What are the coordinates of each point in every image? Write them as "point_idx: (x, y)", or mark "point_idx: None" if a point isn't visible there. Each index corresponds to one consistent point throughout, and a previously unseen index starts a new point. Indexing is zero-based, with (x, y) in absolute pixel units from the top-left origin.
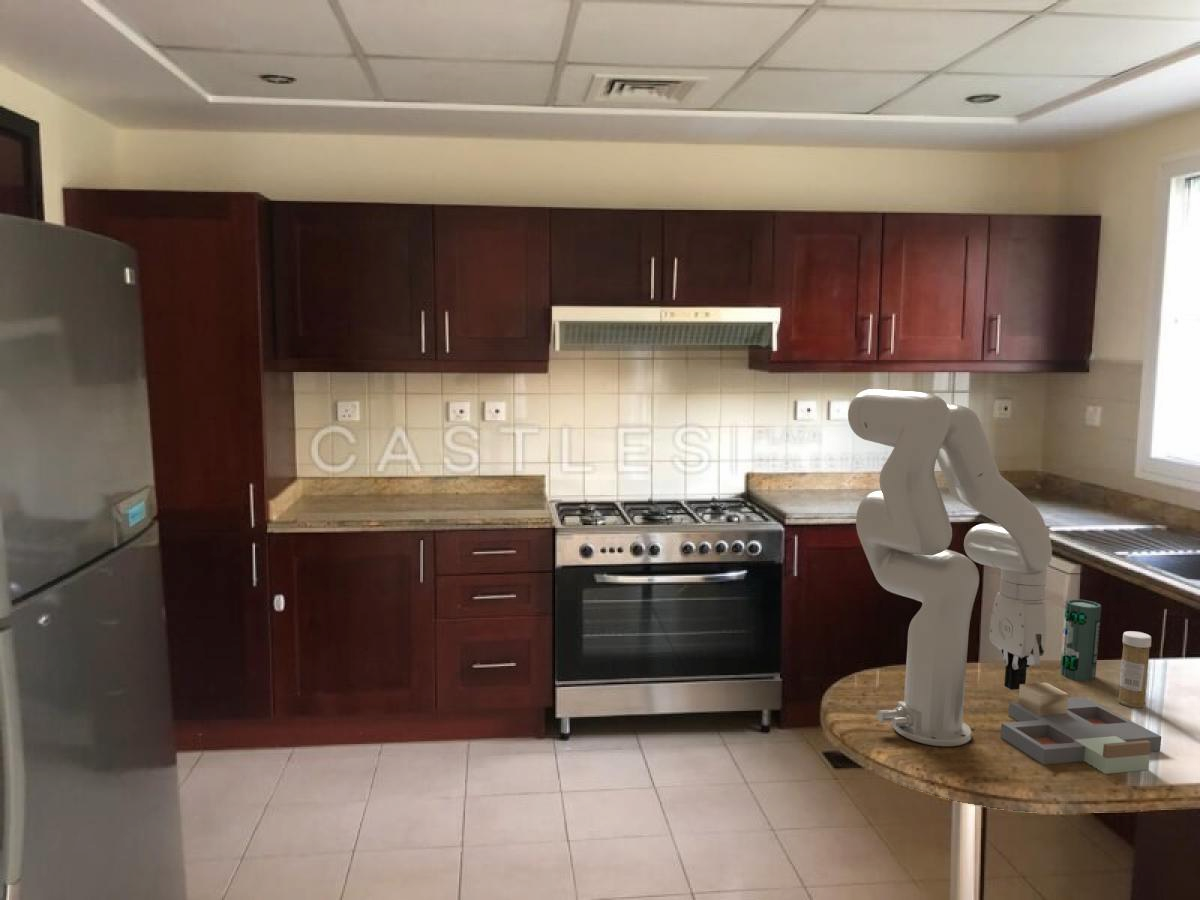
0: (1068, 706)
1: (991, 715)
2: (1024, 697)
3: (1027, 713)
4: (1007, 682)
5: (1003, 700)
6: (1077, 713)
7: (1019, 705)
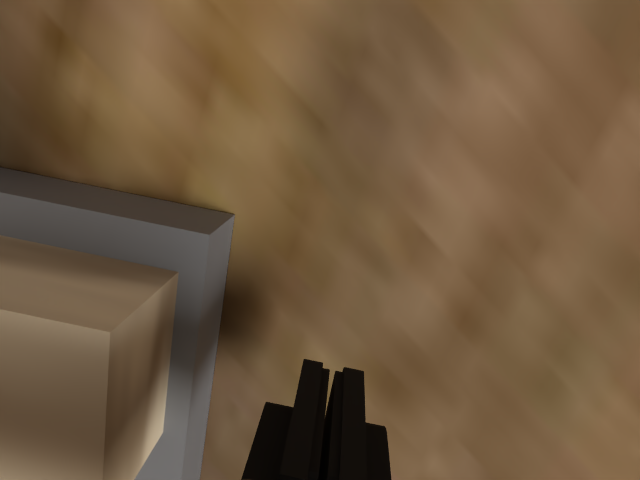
0: None
1: (268, 126)
2: (90, 282)
3: (38, 197)
4: (337, 388)
5: (406, 359)
6: None
7: (148, 250)
